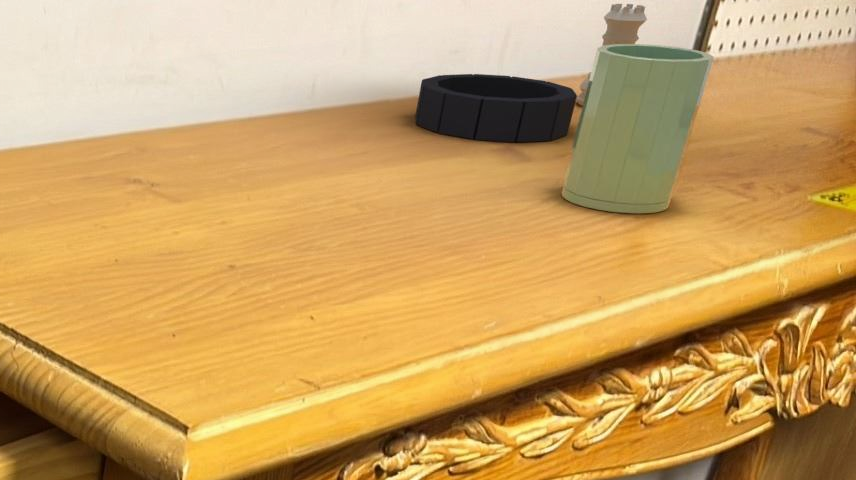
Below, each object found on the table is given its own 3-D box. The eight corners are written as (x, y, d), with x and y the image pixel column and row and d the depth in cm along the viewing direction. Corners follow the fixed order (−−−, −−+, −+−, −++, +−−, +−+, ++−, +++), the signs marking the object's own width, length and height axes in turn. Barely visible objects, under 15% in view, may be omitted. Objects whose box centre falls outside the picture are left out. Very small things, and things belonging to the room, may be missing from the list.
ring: (556, 117, 100) (565, 78, 99) (574, 146, 91) (585, 105, 89) (413, 107, 103) (420, 70, 101) (417, 135, 94) (424, 95, 92)
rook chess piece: (621, 113, 102) (649, 10, 98) (566, 105, 104) (591, 5, 100) (638, 105, 105) (665, 5, 101) (584, 98, 107) (609, 0, 103)
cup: (657, 192, 80) (700, 47, 75) (677, 217, 74) (724, 63, 70) (555, 184, 81) (591, 41, 77) (567, 208, 76) (606, 57, 72)
